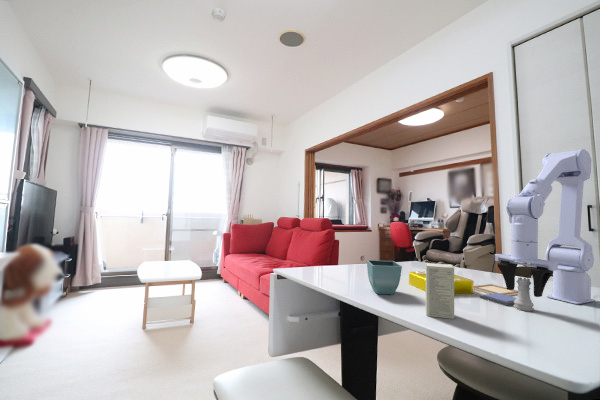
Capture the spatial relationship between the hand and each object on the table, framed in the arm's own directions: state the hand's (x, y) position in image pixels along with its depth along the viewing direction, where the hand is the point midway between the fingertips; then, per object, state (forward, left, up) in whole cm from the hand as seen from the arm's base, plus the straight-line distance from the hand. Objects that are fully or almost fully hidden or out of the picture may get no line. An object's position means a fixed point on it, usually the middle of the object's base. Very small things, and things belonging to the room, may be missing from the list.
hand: (523, 292), depth 82 cm
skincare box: (+26, -4, -4) cm, 27 cm away
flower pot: (+26, -25, -4) cm, 36 cm away
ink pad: (-2, -7, -4) cm, 8 cm away
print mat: (-11, -15, -4) cm, 19 cm away
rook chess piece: (0, 0, -4) cm, 4 cm away
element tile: (+4, -24, -5) cm, 24 cm away
